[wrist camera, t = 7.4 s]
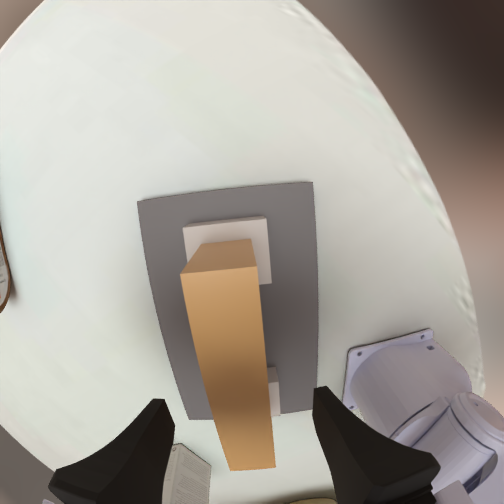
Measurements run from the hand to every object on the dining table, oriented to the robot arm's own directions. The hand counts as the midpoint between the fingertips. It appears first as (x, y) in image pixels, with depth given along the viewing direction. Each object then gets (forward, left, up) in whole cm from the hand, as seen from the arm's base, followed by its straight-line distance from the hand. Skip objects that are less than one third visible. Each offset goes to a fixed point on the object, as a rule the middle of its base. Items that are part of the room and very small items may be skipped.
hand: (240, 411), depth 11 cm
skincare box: (+9, +19, -10) cm, 23 cm away
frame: (0, 0, -7) cm, 7 cm away
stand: (0, 0, -10) cm, 10 cm away
